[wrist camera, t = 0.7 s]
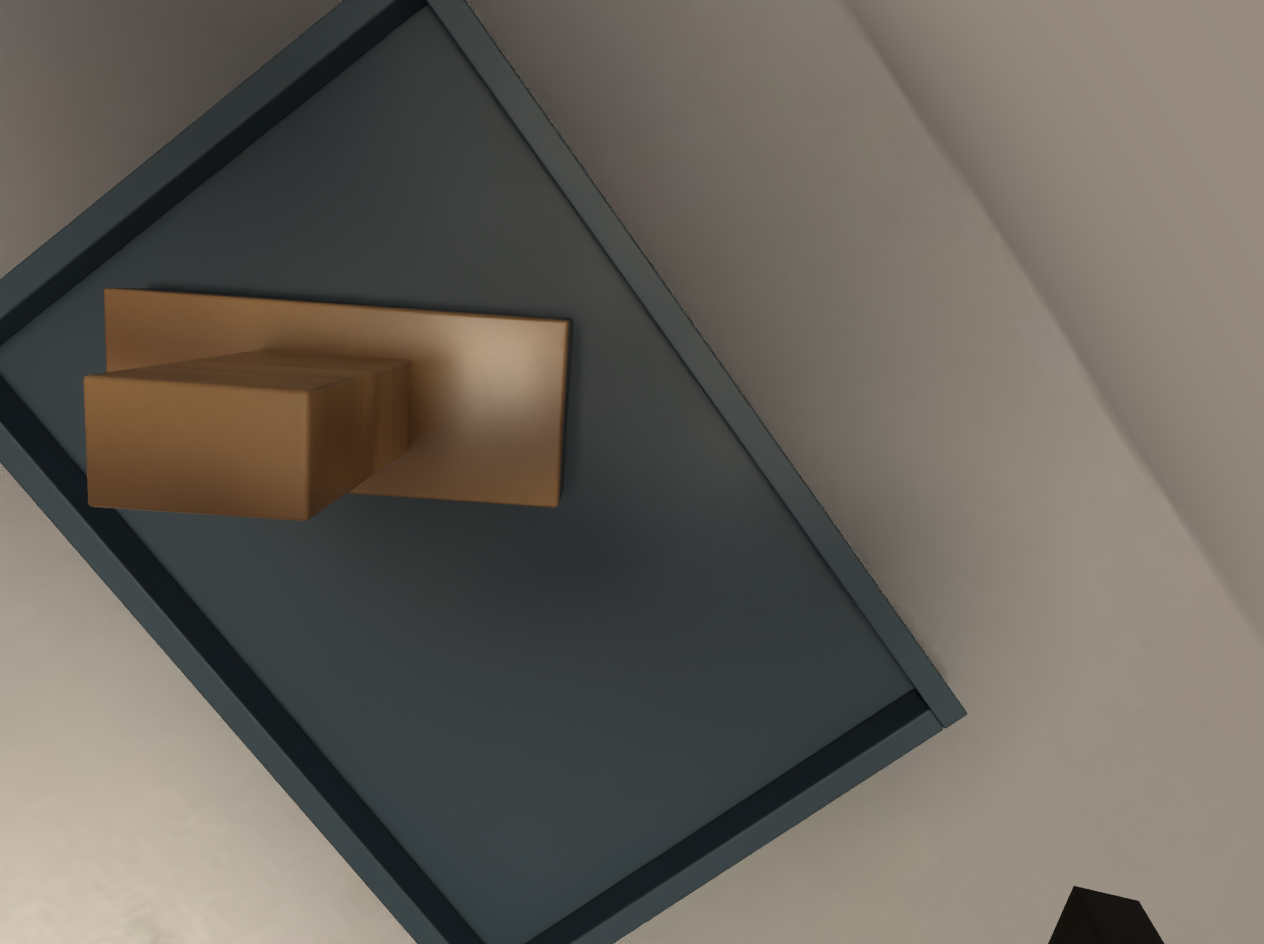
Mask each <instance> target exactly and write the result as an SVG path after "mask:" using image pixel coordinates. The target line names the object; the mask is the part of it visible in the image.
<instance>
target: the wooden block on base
mask: <svg viewBox="0 0 1264 944" xmlns="http://www.w3.org/2000/svg"><path fill="white" fill-rule="evenodd" d="M104 315H105V344H106V373H99V374H92V375H87V376H85V377H84V405H85V431H86V457H87V483H88V503H89V505H90V506H92V507H101V508H116V509H130V510H145V511H160V512H175V513H190V514H204V515H219V516H234V517H249V518H263V519H278V520H293V521H307V520H309V519H311V518H312V517H314V516H315V515H317V514H318V513H319V512H321V511H322V510H324V509H325V508H327V507H328V506H329V505H331V504H332V503H334V502H335V501H337V500H338V499H339V498H341V497H342V496H344V495H345V494H347V493H349V494H363V495H378V496H393V497H407V498H422V499H437V500H451V501H466V502H481V503H495V504H510V505H525V506H539V507H554V508H555V507H557V506H558V503H559V500H560V498H561V495H562V492H563V489H564V472H565V455H566V438H567V421H568V404H569V387H570V370H571V352H572V335H573V319H571V318H558V317H544V316H530V315H516V314H502V313H488V312H474V311H460V310H446V309H432V308H418V307H404V306H390V305H376V304H362V303H348V302H334V301H320V300H306V299H292V298H278V297H264V296H251V295H237V294H223V293H209V292H195V291H181V290H167V289H153V288H105V289H104Z"/></svg>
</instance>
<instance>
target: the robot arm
mask: <svg viewBox="0 0 1264 944" xmlns="http://www.w3.org/2000/svg"><path fill="white" fill-rule="evenodd" d="M1048 944H1164V942H1163V941H1162V939H1161V937H1160V936H1159V934H1158V932H1157V931H1156V929H1155V927H1154V926H1153V924H1152V922H1151V921H1150V919H1149V917H1148V916H1147V914H1146V912H1145V911H1144V909H1143V907H1142V906H1141V904H1140V902H1139V901H1136V900H1132V899H1128V898H1123V897H1119V896H1115V895H1111V894H1106V893H1102V892H1098V891H1093V890H1089V889H1085V888H1081V887H1076V886H1074V887H1073V889H1072V891H1071V894H1070V896H1069V898H1068V900H1067V903H1066V905H1065V907H1064V909H1063V912H1062V914H1061V916H1060V918H1059V921H1058V923H1057V925H1056V927H1055V930H1054V932H1053V934H1052V936H1051V939H1050V941H1049V943H1048Z"/></svg>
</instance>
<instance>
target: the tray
mask: <svg viewBox="0 0 1264 944" xmlns="http://www.w3.org/2000/svg"><path fill="white" fill-rule="evenodd" d="M105 288H153V289H167V290H181V291H195V292H209V293H223V294H237V295H251V296H264V297H278V298H292V299H306V300H320V301H334V302H348V303H362V304H376V305H390V306H404V307H418V308H432V309H446V310H460V311H474V312H488V313H502V314H516V315H530V316H544V317H558V318H571V319H573V335H572V352H571V370H570V387H569V404H568V421H567V438H566V455H565V472H564V489H563V492H562V495H561V498H560V500H559V503H558V506H557V507H555V508H554V507H539V506H525V505H510V504H495V503H481V502H466V501H451V500H437V499H422V498H407V497H393V496H378V495H363V494H349V493H347V494H345V495H344V496H342V497H341V498H339V499H338V500H337V501H335V502H334V503H332V504H331V505H329V506H328V507H327V508H325V509H324V510H322V511H321V512H319V513H318V514H317V515H315V516H314V517H312V518H311V519H309V520H307V521H293V520H278V519H263V518H249V517H234V516H219V515H204V514H190V513H175V512H160V511H145V510H130V509H116V508H101V507H92V506H90V505H89V503H88V483H87V457H86V431H85V405H84V377H85V376H87V375H92V374H99V373H106V344H105V315H104V289H105ZM0 463H1V464H2V465H3V466H4V467H5V468H6V469H7V471H8V472H9V473H10V474H11V475H12V476H13V478H14V479H15V480H16V481H17V482H18V483H19V484H20V486H21V487H22V488H23V489H24V490H25V491H26V493H27V494H28V495H29V496H30V497H31V498H32V499H33V501H34V502H35V503H36V504H37V505H38V506H39V508H40V509H41V510H42V511H43V512H44V513H45V514H46V516H47V517H48V518H49V519H50V520H51V521H52V523H53V524H54V525H55V526H56V527H57V528H58V529H59V531H60V532H61V533H62V534H63V535H64V536H65V538H66V539H67V540H68V541H69V542H70V543H71V544H72V546H73V547H74V548H75V549H76V550H77V551H78V553H79V554H80V555H81V556H82V557H83V558H84V559H85V561H86V562H87V563H88V564H89V565H90V566H91V568H92V569H93V570H94V571H95V572H96V573H97V574H98V576H99V577H100V578H101V579H102V580H103V581H104V583H105V584H106V585H107V586H108V587H109V588H110V589H111V591H112V592H113V593H114V594H115V595H116V596H117V598H118V599H119V600H120V601H121V602H122V603H123V604H124V606H125V607H126V608H127V609H128V610H129V611H130V613H131V614H132V615H133V616H134V617H135V618H136V619H137V621H138V622H139V623H140V624H141V625H142V626H143V628H144V629H145V630H146V631H147V632H148V633H149V634H150V636H151V637H152V638H153V639H154V640H155V641H156V643H157V644H158V645H159V646H160V647H161V648H162V649H163V651H164V652H165V653H166V654H167V655H168V656H169V658H170V659H171V660H172V661H173V662H174V663H175V664H176V666H177V667H178V668H179V669H180V670H181V671H182V673H183V674H184V675H185V676H186V677H187V678H188V679H189V681H190V682H191V683H192V684H193V685H194V686H195V688H196V689H197V690H198V691H199V692H200V693H201V694H202V696H203V697H204V698H205V699H206V700H207V701H208V703H209V704H210V705H211V706H212V707H213V708H214V709H215V711H216V712H217V713H218V714H219V715H220V716H221V718H222V719H223V720H224V721H225V722H226V723H227V724H228V726H229V727H230V728H231V729H232V730H233V731H234V733H235V734H236V735H237V736H238V737H239V738H240V739H241V741H242V742H243V743H244V744H245V745H246V746H247V748H248V749H249V750H250V751H251V752H252V753H253V754H254V756H255V757H256V758H257V759H258V760H259V761H260V763H261V764H262V765H263V766H264V767H265V768H266V769H267V771H268V772H269V773H270V774H271V775H272V776H273V778H274V779H275V780H276V781H277V782H278V783H279V784H280V786H281V787H282V788H283V789H284V790H285V791H286V793H287V794H288V795H289V796H290V797H291V798H292V799H293V801H294V802H295V803H296V804H297V805H298V806H299V808H300V809H301V810H302V811H303V812H304V813H305V814H306V816H307V817H308V818H309V819H310V820H311V821H312V823H313V824H314V825H315V826H316V827H317V828H318V829H319V831H320V832H321V833H322V834H323V835H324V836H325V838H326V839H327V840H328V841H329V842H330V843H331V844H332V846H333V847H334V848H335V849H336V850H337V851H338V853H339V854H340V855H341V856H342V857H343V858H344V859H345V861H346V862H347V863H348V864H349V865H350V866H351V868H352V869H353V870H354V871H355V872H356V873H357V874H358V876H359V877H360V878H361V879H362V880H363V881H364V883H365V884H366V885H367V886H368V887H369V888H370V889H371V891H372V892H373V893H374V894H375V895H376V896H377V898H378V899H379V900H380V901H381V902H382V903H383V904H384V906H385V907H386V908H387V909H388V910H389V911H390V913H391V914H392V915H393V916H394V917H395V918H396V919H397V921H398V922H399V923H400V924H401V925H402V926H403V928H404V929H405V930H406V931H407V932H408V933H409V934H410V936H411V937H412V938H413V939H414V940H415V941H416V943H417V944H613V943H615V942H616V941H618V940H619V939H621V938H622V937H624V936H625V935H627V934H629V933H630V932H632V931H633V930H635V929H636V928H638V927H639V926H641V925H642V924H644V923H646V922H647V921H649V920H650V919H652V918H653V917H655V916H656V915H658V914H659V913H661V912H662V911H664V910H666V909H667V908H669V907H670V906H672V905H673V904H675V903H676V902H678V901H679V900H681V899H683V898H684V897H686V896H687V895H689V894H690V893H692V892H693V891H695V890H696V889H698V888H699V887H701V886H703V885H704V884H706V883H707V882H709V881H710V880H712V879H713V878H715V877H716V876H718V875H720V874H721V873H723V872H724V871H726V870H727V869H729V868H730V867H732V866H733V865H735V864H737V863H738V862H740V861H741V860H743V859H744V858H746V857H747V856H749V855H750V854H752V853H753V852H755V851H757V850H758V849H760V848H761V847H763V846H764V845H766V844H767V843H769V842H770V841H772V840H774V839H775V838H777V837H778V836H780V835H781V834H783V833H784V832H786V831H787V830H789V829H790V828H792V827H794V826H795V825H797V824H798V823H800V822H801V821H803V820H804V819H806V818H807V817H809V816H811V815H812V814H814V813H815V812H817V811H818V810H820V809H821V808H823V807H824V806H826V805H827V804H829V803H831V802H832V801H834V800H835V799H837V798H838V797H840V796H841V795H843V794H844V793H846V792H848V791H849V790H851V789H852V788H854V787H855V786H857V785H858V784H860V783H861V782H863V781H865V780H866V779H868V778H869V777H871V776H872V775H874V774H875V773H877V772H878V771H880V770H881V769H883V768H885V767H886V766H888V765H889V764H891V763H892V762H894V761H895V760H897V759H898V758H900V757H902V756H903V755H905V754H906V753H908V752H909V751H911V750H912V749H914V748H915V747H917V746H918V745H920V744H922V743H923V742H925V741H926V740H928V739H929V738H931V737H932V736H934V735H935V734H937V733H939V732H940V731H942V730H943V727H944V728H947V727H948V726H950V725H952V724H953V723H955V722H956V721H958V720H959V719H961V718H962V717H964V716H965V715H967V712H966V711H965V709H964V708H963V706H962V705H961V703H960V702H959V701H958V699H957V698H956V696H955V695H954V694H953V692H952V691H951V689H950V688H949V686H948V685H947V684H946V682H945V681H944V679H943V678H942V677H941V675H940V674H939V672H938V671H937V669H936V668H935V667H934V665H933V664H932V662H931V661H930V659H929V658H928V657H927V655H926V654H925V652H924V651H923V650H922V648H921V647H920V645H919V644H918V642H917V641H916V640H915V638H914V637H913V635H912V634H911V633H910V631H909V630H908V628H907V627H906V625H905V624H904V623H903V621H902V620H901V618H900V617H899V615H898V614H897V613H896V611H895V610H894V608H893V607H892V606H891V604H890V603H889V601H888V600H887V598H886V597H885V596H884V594H883V593H882V591H881V590H880V589H879V587H878V586H877V584H876V583H875V581H874V580H873V579H872V577H871V576H870V574H869V573H868V571H867V570H866V569H865V567H864V566H863V564H862V563H861V562H860V560H859V559H858V557H857V556H856V554H855V553H854V552H853V550H852V549H851V547H850V546H849V545H848V543H847V542H846V540H845V539H844V537H843V536H842V535H841V533H840V532H839V530H838V529H837V527H836V526H835V525H834V523H833V522H832V520H831V519H830V518H829V516H828V515H827V513H826V512H825V510H824V509H823V508H822V506H821V505H820V503H819V502H818V501H817V499H816V498H815V496H814V495H813V493H812V492H811V491H810V489H809V488H808V486H807V485H806V483H805V482H804V481H803V479H802V478H801V476H800V475H799V474H798V472H797V471H796V469H795V468H794V466H793V465H792V464H791V462H790V461H789V459H788V458H787V457H786V455H785V454H784V452H783V451H782V449H781V448H780V447H779V445H778V444H777V442H776V441H775V439H774V438H773V437H772V435H771V434H770V432H769V431H768V430H767V428H766V427H765V425H764V424H763V422H762V421H761V420H760V418H759V417H758V415H757V414H756V413H755V411H754V410H753V408H752V407H751V405H750V404H749V403H748V401H747V400H746V398H745V397H744V395H743V394H742V393H741V391H740V390H739V388H738V387H737V386H736V384H735V383H734V381H733V380H732V378H731V377H730V376H729V374H728V373H727V371H726V370H725V369H724V367H723V366H722V364H721V363H720V361H719V360H718V359H717V357H716V356H715V354H714V353H713V351H712V350H711V349H710V347H709V346H708V344H707V343H706V342H705V340H704V339H703V337H702V336H701V334H700V333H699V332H698V330H697V329H696V327H695V326H694V325H693V323H692V322H691V320H690V319H689V317H688V316H687V315H686V313H685V312H684V310H683V309H682V307H681V306H680V305H679V303H678V302H677V300H676V299H675V298H674V296H673V295H672V293H671V292H670V290H669V289H668V288H667V286H666V285H665V283H664V282H663V281H662V279H661V278H660V276H659V275H658V273H657V272H656V271H655V269H654V268H653V266H652V265H651V263H650V262H649V261H648V259H647V258H646V256H645V255H644V254H643V252H642V251H641V249H640V248H639V246H638V245H637V244H636V242H635V241H634V239H633V238H632V237H631V235H630V234H629V232H628V231H627V229H626V228H625V227H624V225H623V224H622V222H621V221H620V219H619V218H618V217H617V215H616V214H615V212H614V211H613V210H612V208H611V207H610V205H609V204H608V202H607V201H606V200H605V198H604V197H603V195H602V194H601V193H600V191H599V190H598V188H597V187H596V185H595V184H594V183H593V181H592V180H591V178H590V177H589V175H588V174H587V173H586V171H585V170H584V168H583V167H582V166H581V164H580V163H579V161H578V160H577V158H576V157H575V156H574V154H573V153H572V151H571V150H570V149H569V147H568V146H567V144H566V143H565V141H564V140H563V139H562V137H561V136H560V134H559V133H558V131H557V130H556V129H555V127H554V126H553V124H552V123H551V122H550V120H549V119H548V117H547V116H546V114H545V113H544V112H543V110H542V109H541V107H540V106H539V105H538V103H537V102H536V100H535V99H534V97H533V96H532V95H531V93H530V92H529V90H528V89H527V87H526V86H525V85H524V83H523V82H522V80H521V79H520V78H519V76H518V75H517V73H516V72H515V70H514V69H513V68H512V66H511V65H510V63H509V62H508V61H507V59H506V58H505V56H504V55H503V53H502V52H501V51H500V49H499V48H498V46H497V45H496V43H495V42H494V41H493V39H492V38H491V36H490V35H489V34H488V32H487V31H486V29H485V28H484V26H483V25H482V24H481V22H480V21H479V19H478V18H477V17H476V15H475V14H474V12H473V11H472V9H471V8H470V7H469V5H468V4H467V2H466V1H465V0H343V1H342V2H341V3H340V4H338V5H337V6H336V7H335V8H333V9H332V10H331V11H330V12H329V13H327V14H326V15H325V16H324V17H322V18H321V19H320V20H319V21H318V22H316V23H315V24H314V25H313V26H311V27H310V28H309V29H308V30H306V31H305V32H304V33H303V34H302V35H300V36H299V37H298V38H297V39H295V40H294V41H293V42H292V43H290V44H289V45H288V46H287V47H286V48H284V49H283V50H282V51H281V52H279V53H278V54H277V55H276V56H274V57H273V58H272V59H271V60H270V61H268V62H267V63H266V64H265V65H263V66H262V67H261V68H260V69H258V70H257V71H256V72H255V73H254V74H252V75H251V76H250V77H249V78H247V79H246V80H245V81H244V82H242V83H241V84H240V85H239V86H238V87H236V88H235V89H234V90H233V91H231V92H230V93H229V94H228V95H226V96H225V97H224V98H223V99H222V100H220V101H219V102H218V103H217V104H215V105H214V106H213V107H212V108H210V109H209V110H208V111H207V112H206V113H204V114H203V115H202V116H201V117H199V118H198V119H197V120H196V121H195V122H193V123H192V124H191V125H190V126H188V127H187V128H186V129H185V130H183V131H182V132H181V133H180V134H179V135H177V136H176V137H175V138H174V139H172V140H171V141H170V142H169V143H167V144H166V145H165V146H164V147H163V148H161V149H160V150H159V151H158V152H156V153H155V154H154V155H153V156H151V157H150V158H149V159H148V160H147V161H145V162H144V163H143V164H142V165H140V166H139V167H138V168H137V169H135V170H134V171H133V172H132V173H131V174H129V175H128V176H127V177H126V178H124V179H123V180H122V181H121V182H119V183H118V184H117V185H116V186H115V187H113V188H112V189H111V190H110V191H108V192H107V193H106V194H105V195H103V196H102V197H101V198H100V199H99V200H97V201H96V202H95V203H94V204H92V205H91V206H90V207H89V208H87V209H86V210H85V211H84V212H83V213H81V214H80V215H79V216H78V217H76V218H75V219H74V220H73V221H72V222H70V223H69V224H68V225H67V226H65V227H64V228H63V229H62V230H60V231H59V232H58V233H57V234H56V235H54V236H53V237H52V238H51V239H49V240H48V241H47V242H46V243H44V244H43V245H42V246H41V247H40V248H38V249H37V250H36V251H35V252H33V253H32V254H31V255H30V256H28V257H27V258H26V259H25V260H24V261H22V262H21V263H20V264H19V265H17V266H16V267H15V268H14V269H12V270H11V271H10V272H9V273H8V274H6V275H5V276H4V277H3V278H1V279H0Z"/></svg>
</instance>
